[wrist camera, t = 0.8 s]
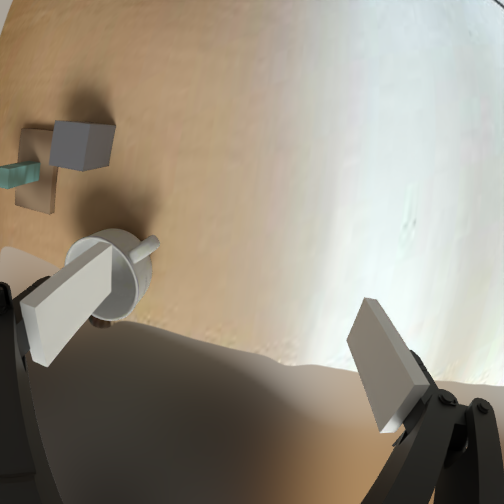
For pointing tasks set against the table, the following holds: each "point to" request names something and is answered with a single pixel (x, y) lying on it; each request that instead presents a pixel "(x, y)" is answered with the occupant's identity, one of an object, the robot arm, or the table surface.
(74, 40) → the table surface
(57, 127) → the grey upright block
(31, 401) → the robot arm
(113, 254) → the teacup
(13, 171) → the stand
